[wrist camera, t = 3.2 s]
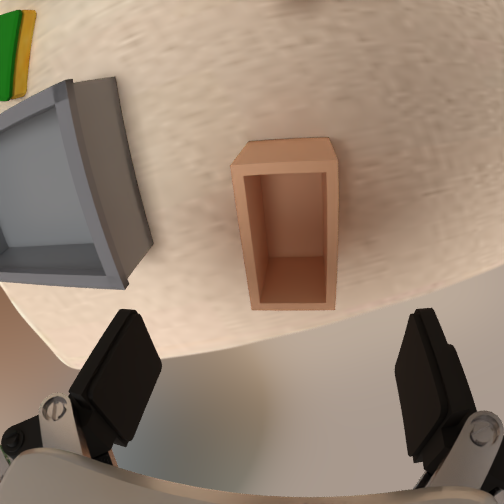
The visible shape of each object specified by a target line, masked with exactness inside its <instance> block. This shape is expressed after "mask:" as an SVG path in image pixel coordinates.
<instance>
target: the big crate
mask: <svg viewBox="0 0 504 504" xmlns="http://www.w3.org/2000/svg"><path fill="white" fill-rule="evenodd" d="M152 245H153V240H152V237H151V234H150V230H149V226H148V223H147V219H146V216H145V212H144V208H143V204H142V201H141V197H140V193H139V189H138V185H137V181H136V177H135V173H134V169H133V164H132V160H131V156H130V151H129V147H128V142H127V137H126V133H125V128H124V123H123V118H122V113H121V107H120V102H119V96H118V91H117V85H116V79H115V77H109V78H102V79H95V80H88V81H82V82H76V83H73V79H68V80H64V81H62V82H60V83H58V84H55V85H53V86H51V87H49V88H47V89H45V90H43V91H41V92H39V93H37V94H35V95H33V96H31V97H29V98H27V99H26V100H24V101H22V102H20V103H18V104H16V105H15V106H13V107H11V108H9V109H8V110H6V111H4V112H3V113H1V114H0V281H1V282H12V283H23V284H36V285H49V286H64V287H80V288H97V289H117V290H125V289H126V288H127V286H128V285H129V282H128V280H127V278H128V277H129V276H130V274H131V273H132V272H133V270H134V269H135V268H136V266H137V265H138V264H139V262H140V261H141V260H142V258H143V257H144V256H145V254H146V253H147V252H148V250H149V249H150V248H151V246H152Z"/></svg>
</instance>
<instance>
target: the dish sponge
mask: <svg viewBox="0 0 504 504" xmlns="http://www.w3.org/2000/svg"><path fill="white" fill-rule="evenodd" d="M36 14H37V13H36V12H35V10H16V11H12V12H9V13H6V14H3V15H0V101H9V100H10V99H16V98H19V97H23V96H24V95H25V94H26V91H27V77H28V67H29V58H30V50H31V43H32V36H33V30H34V25H35V19H36Z"/></svg>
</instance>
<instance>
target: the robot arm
mask: <svg viewBox="0 0 504 504" xmlns="http://www.w3.org/2000/svg"><path fill="white" fill-rule="evenodd" d="M161 369H162V363H161V360H160V358H159V356H158V353H157V351H156V349H155V347H154V345H153V342H152V340H151V338H150V335H149V333H148V331H147V328H146V326H145V324H144V321H143V319H142V317H141V315H140V314H138V313H137V311H136V310H130V309H120V310H119V311H118V312H117V314H116V315H115V317H114V318H113V320H112V321H111V323H110V325H109V326H108V328H107V329H106V331H105V332H104V334H103V335H102V337H101V338H100V340H99V342H98V343H97V345H96V346H95V348H94V350H93V351H92V353H91V354H90V356H89V358H88V359H87V361H86V362H85V364H84V366H83V367H82V369H81V371H80V372H79V374H78V376H77V378H76V379H75V381H74V383H73V384H72V386H71V387H70V389H69V393H70V394H69V396H67V395H65V394H63V393H55V394H51V395H50V396H48V397H47V398H46V399H44V400H43V402H42V404H41V405H40V408H39V415H37V416H35V417H32V418H30V419H28V420H25V421H23V422H21V423H19V424H16V425H14V426H11V427H10V428H8V429H7V430H6V431H5V433H4V434H3V436H2V441H1V445H0V504H504V435H503V434H504V428H503V424H502V422H501V420H500V419H499V417H498V416H497V415H495V414H494V413H492V412H489V411H478V412H477V410H476V407H475V403H474V400H473V397H472V394H471V391H470V388H469V385H468V382H467V379H466V376H465V374H464V371H463V368H462V366H461V363H460V360H459V357H458V355H457V352H456V350H455V348H454V346H453V345H451V344H448V343H447V341H446V338H445V336H444V333H443V331H442V328H441V326H440V323H439V321H438V319H437V317H436V314H435V312H434V310H433V309H432V308H424V309H416V310H415V313H414V314H410V316H409V320H408V324H407V328H406V331H405V335H404V338H403V342H402V345H401V348H400V352H399V355H398V358H397V362H396V365H395V377H396V382H397V387H398V393H399V399H400V404H401V409H402V416H403V422H404V429H405V436H406V443H407V450H408V455H409V456H410V457H411V456H413V461H414V463H418V462H423V466H424V470H426V471H425V472H424V474H423V475H422V477H421V478H420V479H419V481H418V482H417V484H416V485H415V487H414V488H413V489H412V490H403V491H396V492H388V493H380V494H368V495H355V496H340V497H279V496H262V495H251V494H241V493H232V492H225V491H218V490H210V489H205V488H199V487H194V486H188V485H184V484H179V483H174V482H169V481H165V480H161V479H157V478H153V477H149V476H145V475H142V474H138V473H135V472H131V471H128V470H124V469H121V468H119V467H118V465H117V462H116V459H115V457H114V454H113V451H112V446H113V443H114V444H117V445H120V446H124V447H126V446H127V444H128V442H129V441H131V440H132V439H133V437H134V435H135V432H136V430H137V427H138V425H139V422H140V420H141V417H142V415H143V413H144V410H145V408H146V405H147V403H148V401H149V398H150V396H151V393H152V391H153V389H154V386H155V384H156V381H157V379H158V377H159V374H160V372H161Z"/></svg>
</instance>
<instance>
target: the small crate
mask: <svg viewBox="0 0 504 504" xmlns="http://www.w3.org/2000/svg"><path fill="white" fill-rule="evenodd" d="M230 168H231V175H232V182H233V189H234V196H235V203H236V209H237V216H238V223H239V229H240V236H241V243H242V249H243V256H244V263H245V269H246V276H247V282H248V289H249V295H250V302H251V308H252V310H335V301H336V283H337V260H338V218H339V185H338V159H337V157H336V154H335V152H334V149H333V147H332V144H331V142H330V140H329V137H321V138H293V139H275V140H260V141H249V142H248V143H247V144H246V146H245V147H244V148H243V149H242V151H241V152H240V153H239V155H238V156H237V157H236V159H235V160H234V161H233V162H232V164H231V165H230Z"/></svg>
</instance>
